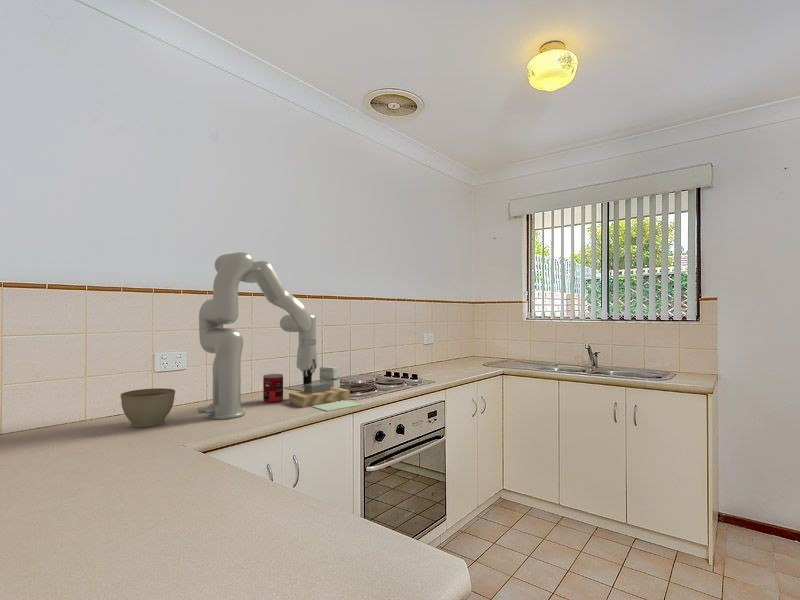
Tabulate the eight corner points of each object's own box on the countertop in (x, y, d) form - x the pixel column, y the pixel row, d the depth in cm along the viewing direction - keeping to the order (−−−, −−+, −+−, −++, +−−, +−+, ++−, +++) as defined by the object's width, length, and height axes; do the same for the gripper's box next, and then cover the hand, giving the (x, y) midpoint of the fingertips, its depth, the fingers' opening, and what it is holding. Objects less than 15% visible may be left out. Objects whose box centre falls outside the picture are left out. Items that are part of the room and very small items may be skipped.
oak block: (303, 407, 174) (303, 397, 174) (289, 403, 183) (288, 393, 183) (349, 399, 188) (349, 390, 188) (334, 395, 197) (334, 386, 197)
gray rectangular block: (311, 393, 182) (311, 386, 182) (304, 391, 186) (304, 384, 186) (330, 390, 188) (330, 383, 188) (322, 388, 192) (322, 381, 192)
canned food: (263, 400, 189) (263, 374, 189) (282, 398, 191) (282, 373, 192) (263, 403, 182) (263, 376, 182) (283, 402, 184) (283, 375, 184)
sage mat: (327, 411, 167) (327, 410, 167) (311, 406, 175) (311, 406, 175) (361, 405, 177) (361, 404, 177) (345, 401, 186) (345, 400, 186)
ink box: (340, 392, 205) (340, 366, 205) (333, 394, 201) (333, 368, 201) (326, 390, 210) (326, 365, 210) (319, 392, 205) (319, 366, 206)
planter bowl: (151, 431, 140) (151, 397, 141) (108, 429, 144) (108, 395, 144) (185, 419, 156) (185, 388, 156) (145, 417, 159) (146, 387, 160)
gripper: (291, 342, 196) (291, 384, 196) (308, 344, 185) (308, 388, 185) (306, 341, 202) (306, 382, 201) (324, 343, 190) (324, 386, 190)
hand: (307, 385), depth 193 cm, fingers closed
